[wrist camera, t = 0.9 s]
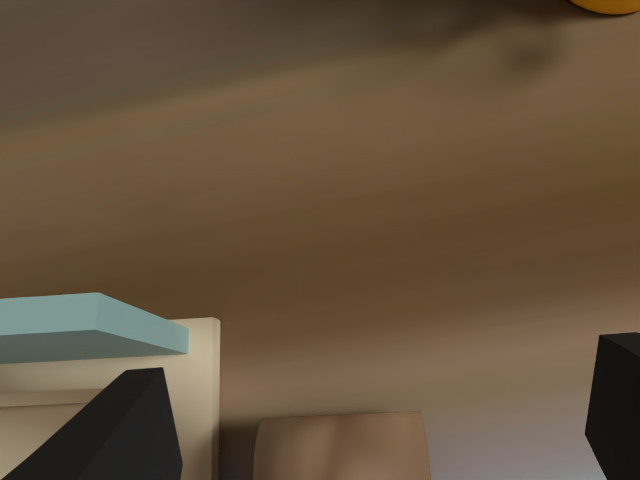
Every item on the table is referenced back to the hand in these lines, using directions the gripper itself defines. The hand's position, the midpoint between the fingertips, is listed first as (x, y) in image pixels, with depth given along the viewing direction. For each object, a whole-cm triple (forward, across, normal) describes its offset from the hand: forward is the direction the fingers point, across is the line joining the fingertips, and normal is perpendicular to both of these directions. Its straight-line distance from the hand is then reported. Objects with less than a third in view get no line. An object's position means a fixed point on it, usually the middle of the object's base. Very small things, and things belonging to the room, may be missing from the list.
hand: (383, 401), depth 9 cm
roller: (+9, 0, +10) cm, 13 cm away
